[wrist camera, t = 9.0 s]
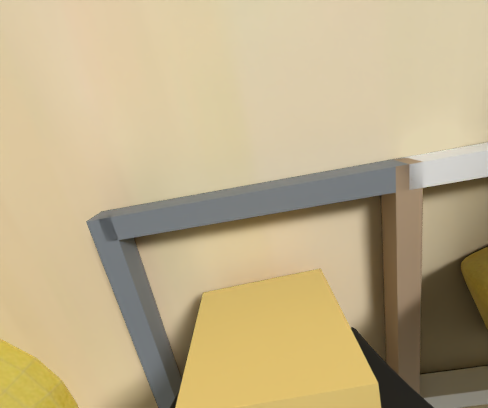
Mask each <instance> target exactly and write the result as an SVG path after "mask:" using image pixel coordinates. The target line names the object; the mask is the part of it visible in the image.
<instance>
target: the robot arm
mask: <svg viewBox="0 0 488 408" xmlns="http://www.w3.org/2000/svg"><path fill="white" fill-rule="evenodd" d="M351 330H352V332H353V334H354V336H355V338H356V340H357V342H358V344H359V346H360V348H361V350H362V352H363V354H364V356H365V358H366V360H367V362H368V364H369V366H370V368H371V370H372V372H373V374H374V376H375V378H376V380H377V382H378V385H379V393H380V402H381V408H434V407H433V406H432V405H431V404H429V403H428V402H427V401H426V400H425V399H424V398H423V397H421V396H420V395H419V394H418V393H417V392H416V391H415V390H414V389H413V388H412V387H410V386H409V385H408V384H407V383H406V382H405V381H404V380H403V379H402V378H401V377H400V376H399V375H398V374H397V373H396V372H395V371H394V370H393V369H392V368H391V367H390V366H389V365H388V364H387V363H386V362H385V361H384V360H383V359H382V358H381V357H380V356H379V355H378V354H377V353H376V352H375V351H374V350H373V349H372V347H371V346H370V345H369V344H368V343H367V342H366V341H365V340H364V339H363V337H362V336H361V335H360V334H359V333H358V331H357V330H356V329H355V328H353V327H352V328H351ZM179 391H180V389H179ZM179 391H178V393H177V395H176V397H175V399H174V401H173V402H172V404H171V406H170V408H175V407H176V403H177V399H178V395H179Z"/></svg>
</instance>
